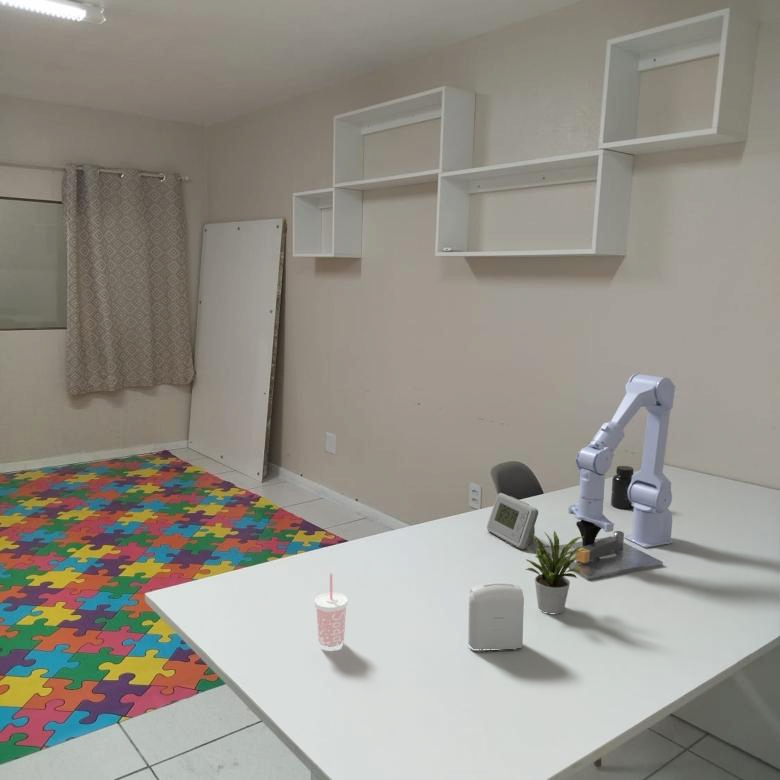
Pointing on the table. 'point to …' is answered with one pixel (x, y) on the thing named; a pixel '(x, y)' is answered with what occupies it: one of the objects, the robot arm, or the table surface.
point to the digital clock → (513, 521)
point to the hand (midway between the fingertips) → (588, 550)
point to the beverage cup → (331, 617)
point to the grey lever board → (611, 560)
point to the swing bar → (597, 549)
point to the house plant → (553, 574)
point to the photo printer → (496, 616)
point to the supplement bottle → (621, 488)
